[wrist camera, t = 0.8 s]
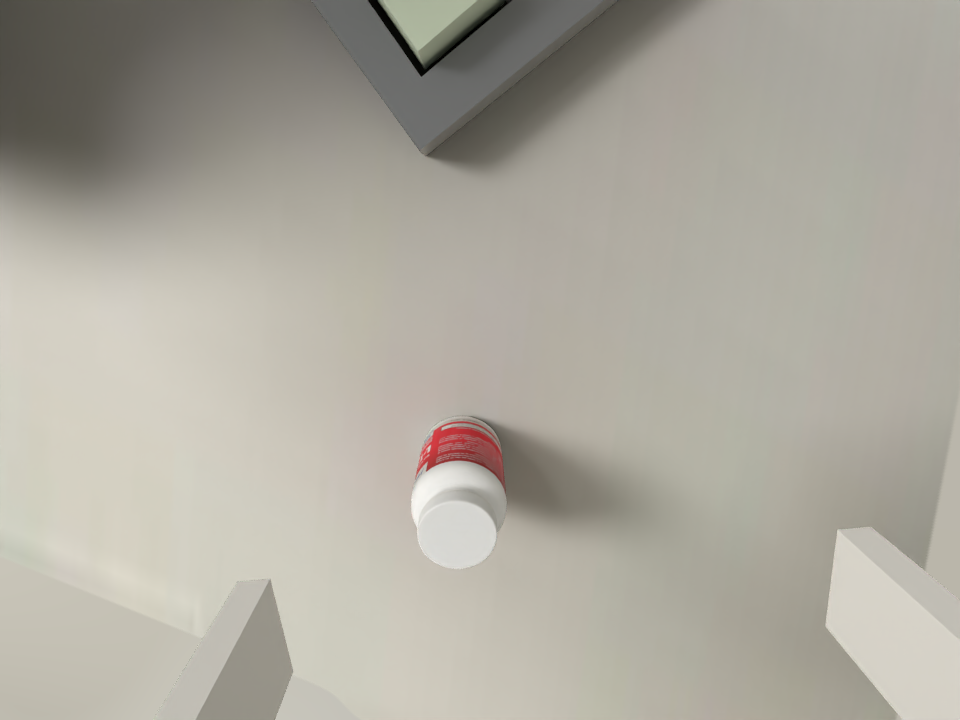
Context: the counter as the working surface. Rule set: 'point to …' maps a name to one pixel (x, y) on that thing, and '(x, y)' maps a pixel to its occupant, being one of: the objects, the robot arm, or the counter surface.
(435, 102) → the grey counting block tray
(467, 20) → the pale green counting block
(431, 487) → the pill bottle
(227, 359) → the counter surface
